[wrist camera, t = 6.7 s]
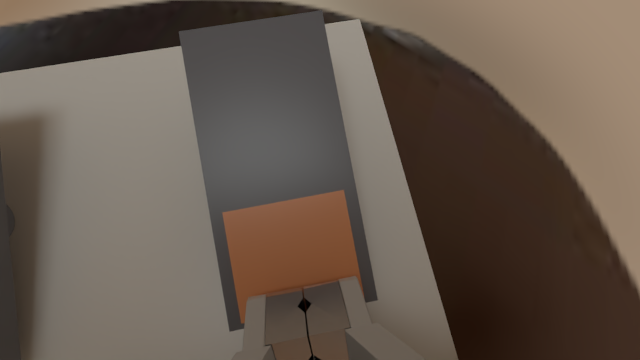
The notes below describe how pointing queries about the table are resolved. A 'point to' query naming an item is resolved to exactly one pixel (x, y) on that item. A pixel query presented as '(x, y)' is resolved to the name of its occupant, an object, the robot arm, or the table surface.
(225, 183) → the block
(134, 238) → the switch box
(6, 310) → the block
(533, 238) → the table surface
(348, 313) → the robot arm
